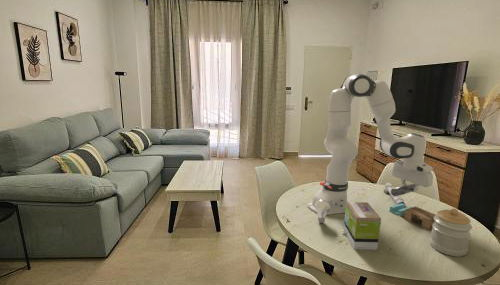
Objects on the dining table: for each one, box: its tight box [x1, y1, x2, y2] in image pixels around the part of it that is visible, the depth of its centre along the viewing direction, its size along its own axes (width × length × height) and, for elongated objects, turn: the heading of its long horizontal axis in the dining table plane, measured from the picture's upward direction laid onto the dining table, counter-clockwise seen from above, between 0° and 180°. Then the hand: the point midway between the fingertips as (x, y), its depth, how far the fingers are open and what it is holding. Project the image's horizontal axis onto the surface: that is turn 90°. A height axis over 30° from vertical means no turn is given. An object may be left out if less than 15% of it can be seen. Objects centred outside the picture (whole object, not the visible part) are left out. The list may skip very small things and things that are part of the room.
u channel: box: [389, 203, 413, 217], centre depth 149 cm, size 10×6×3 cm, turn 117°
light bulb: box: [315, 199, 330, 224], centre depth 135 cm, size 7×7×12 cm
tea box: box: [343, 201, 382, 251], centre depth 120 cm, size 15×10×15 cm
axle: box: [390, 183, 419, 197], centre depth 147 cm, size 16×4×4 cm, turn 117°
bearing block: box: [403, 205, 437, 231], centre depth 137 cm, size 8×12×5 cm, turn 27°
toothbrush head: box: [382, 182, 406, 205], centre depth 166 cm, size 5×7×25 cm
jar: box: [429, 208, 473, 257], centre depth 115 cm, size 13×13×18 cm
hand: (409, 189), depth 148 cm, fingers closed on axle, 4 cm apart
